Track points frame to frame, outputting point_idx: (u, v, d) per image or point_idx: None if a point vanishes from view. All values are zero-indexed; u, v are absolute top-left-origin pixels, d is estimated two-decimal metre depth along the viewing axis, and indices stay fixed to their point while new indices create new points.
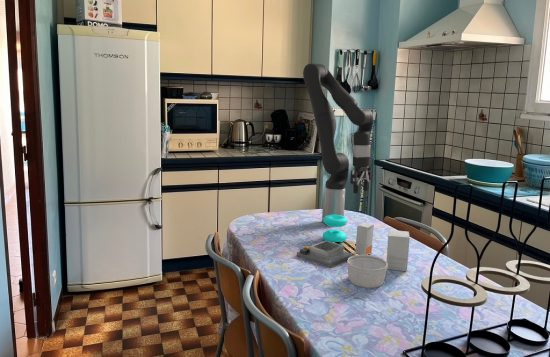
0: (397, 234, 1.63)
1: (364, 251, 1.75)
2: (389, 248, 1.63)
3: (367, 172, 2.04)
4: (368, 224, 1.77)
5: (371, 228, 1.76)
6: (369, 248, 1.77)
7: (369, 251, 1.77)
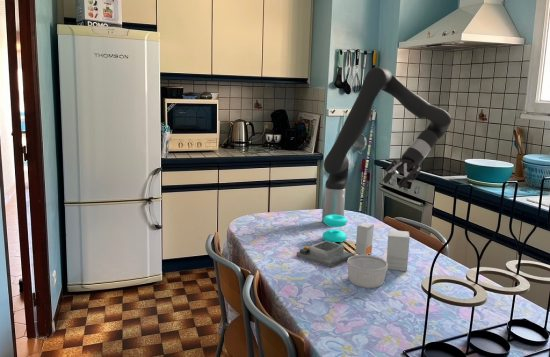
0: (397, 234, 1.63)
1: (364, 251, 1.75)
2: (389, 248, 1.63)
3: None
4: (368, 224, 1.77)
5: (371, 228, 1.76)
6: (369, 248, 1.77)
7: (369, 251, 1.77)
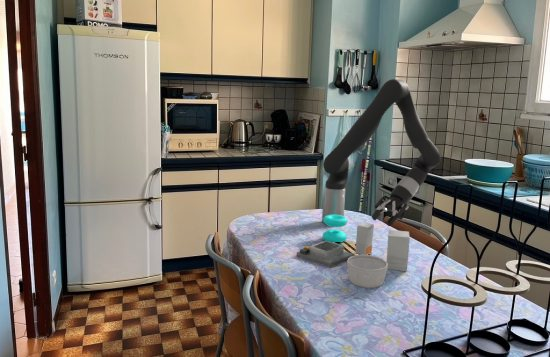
0: (397, 234, 1.63)
1: (364, 251, 1.75)
2: (389, 248, 1.63)
3: None
4: (368, 224, 1.77)
5: (371, 228, 1.76)
6: (369, 248, 1.77)
7: (369, 251, 1.77)
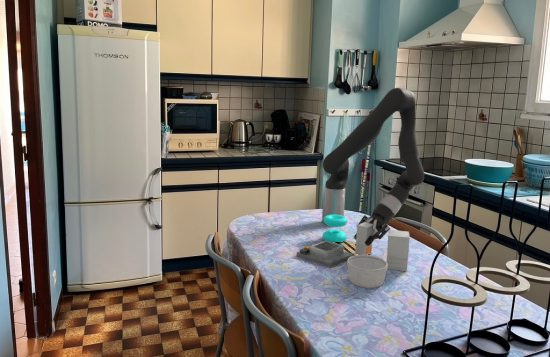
0: (397, 234, 1.63)
1: (364, 251, 1.75)
2: (389, 248, 1.63)
3: None
4: (368, 224, 1.77)
5: (371, 228, 1.76)
6: (369, 248, 1.77)
7: (368, 251, 1.77)
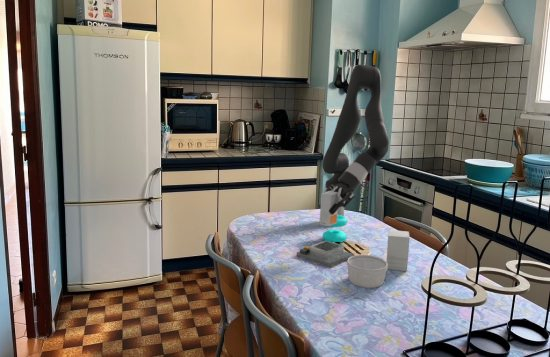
0: (397, 234, 1.63)
1: (328, 220, 1.70)
2: (389, 248, 1.63)
3: None
4: (333, 192, 1.72)
5: (336, 196, 1.71)
6: (333, 217, 1.72)
7: (333, 220, 1.72)
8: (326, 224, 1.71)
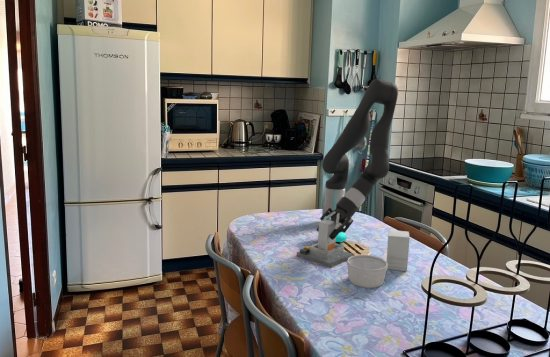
0: (397, 234, 1.63)
1: (325, 248, 1.72)
2: (389, 248, 1.63)
3: None
4: (330, 221, 1.74)
5: (333, 225, 1.73)
6: (331, 246, 1.74)
7: (331, 248, 1.75)
8: None
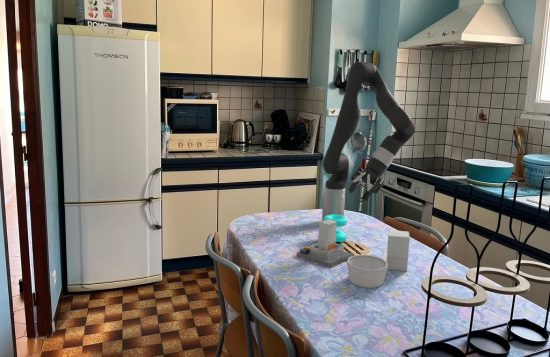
0: (397, 234, 1.63)
1: (325, 248, 1.72)
2: (389, 248, 1.63)
3: None
4: (331, 221, 1.74)
5: (333, 225, 1.73)
6: (331, 246, 1.74)
7: None
8: None
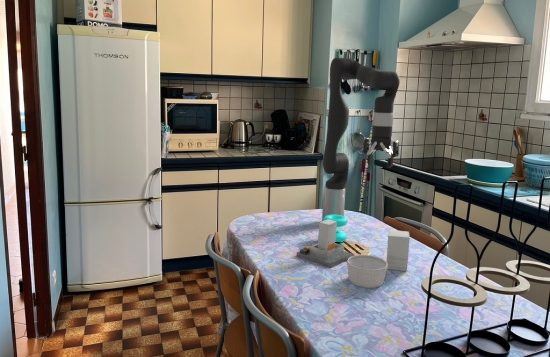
0: (397, 234, 1.63)
1: (325, 248, 1.72)
2: (389, 248, 1.63)
3: None
4: (331, 221, 1.74)
5: (333, 225, 1.73)
6: (331, 246, 1.74)
7: None
8: None
